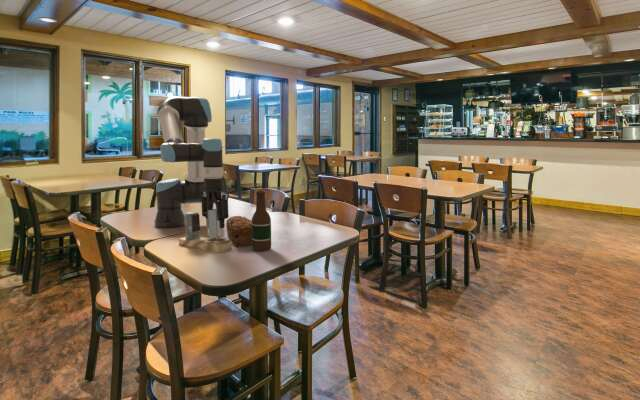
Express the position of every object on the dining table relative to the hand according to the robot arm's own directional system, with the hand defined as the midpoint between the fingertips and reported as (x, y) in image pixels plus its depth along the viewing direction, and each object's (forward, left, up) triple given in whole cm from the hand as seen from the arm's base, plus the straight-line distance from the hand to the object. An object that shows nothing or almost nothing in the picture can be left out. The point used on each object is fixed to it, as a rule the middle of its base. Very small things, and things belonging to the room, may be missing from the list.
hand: (215, 234), depth 163 cm
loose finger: (0, 0, -1) cm, 1 cm away
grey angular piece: (-7, 0, -6) cm, 9 cm away
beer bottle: (+16, +9, -6) cm, 20 cm away
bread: (+1, +15, -6) cm, 16 cm away
